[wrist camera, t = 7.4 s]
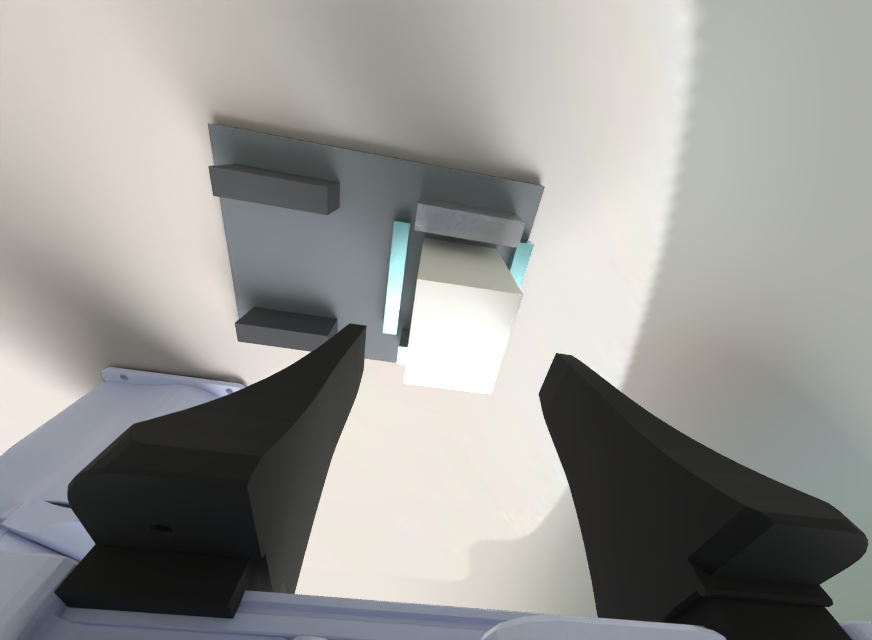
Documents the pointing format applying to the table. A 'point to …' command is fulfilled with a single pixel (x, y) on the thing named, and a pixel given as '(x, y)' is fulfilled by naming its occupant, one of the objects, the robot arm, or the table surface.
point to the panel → (345, 230)
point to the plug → (460, 317)
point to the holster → (292, 195)
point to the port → (455, 224)
